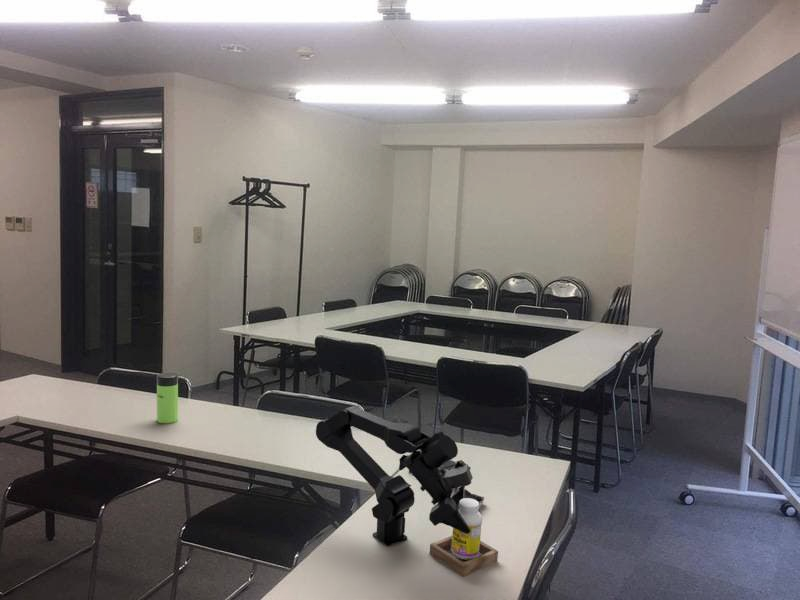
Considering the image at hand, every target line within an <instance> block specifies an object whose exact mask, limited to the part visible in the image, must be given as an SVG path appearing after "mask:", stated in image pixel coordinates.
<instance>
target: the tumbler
mask: <svg viewBox="0 0 800 600" xmlns="http://www.w3.org/2000/svg"><path fill="white" fill-rule="evenodd" d="M178 381H179V374H178V373H176V372H175V373H174V372H161V373H158V374H157V375H156V421H157V423H158V424H159V423H160V424H174V423H176V422H177V421H178V420H179V414H178V413H179V382H178Z"/></svg>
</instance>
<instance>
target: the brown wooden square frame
mask: <svg viewBox="0 0 800 600" xmlns="http://www.w3.org/2000/svg"><path fill="white" fill-rule="evenodd" d="M451 545H452V535H450V536H447V537H445V538H442V539H439V540H438V541H435V542H431V543H430V545H429V555H431V556H432V557H434V558H435V559H436V560H438V561H439V562H441V563H442V564H444V565H445V566H447V567H448V568H450V569H451V570H452V571H454V572H455V573H457V574H458V575H460V576H461V577H465V576H467V575H470V574H471V573H473V572H476V571H479V570H481V569H483V568H485V567H487V566H489V565H491V564H493V563H496V562H498V558H499V556H498V555H499V551H498V550H497V549H495V548H493V547H492V546H490V545H489V544H487V543H485V542H484V541H482V540H480V548H479V554H480V555H478V556H477V557H475V558H474V559H469V560H466V561H465V562H464V561H462V560H460V558H458V557H456V556H455V555H454V554H452V553H449V552H448V550H451Z"/></svg>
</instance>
